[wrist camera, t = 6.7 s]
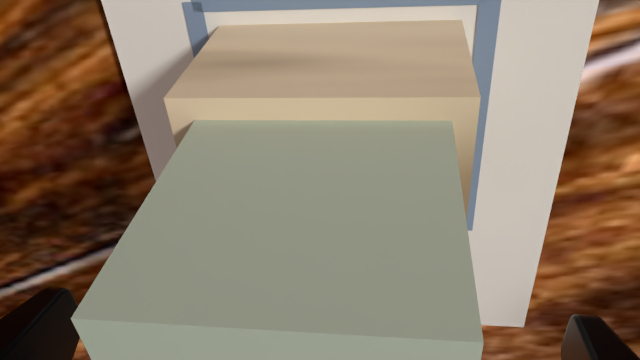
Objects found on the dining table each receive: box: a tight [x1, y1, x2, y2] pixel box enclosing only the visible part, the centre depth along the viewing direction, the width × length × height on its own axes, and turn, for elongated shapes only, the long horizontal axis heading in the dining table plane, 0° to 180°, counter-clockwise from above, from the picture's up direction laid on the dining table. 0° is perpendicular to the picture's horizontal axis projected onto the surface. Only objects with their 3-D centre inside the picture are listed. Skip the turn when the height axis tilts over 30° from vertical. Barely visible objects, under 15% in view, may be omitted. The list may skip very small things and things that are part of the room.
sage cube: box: [71, 120, 484, 360], centre depth 10 cm, size 5×5×5 cm
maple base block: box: [164, 20, 481, 220], centre depth 13 cm, size 6×6×4 cm
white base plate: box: [101, 0, 599, 327], centre depth 15 cm, size 16×12×1 cm
